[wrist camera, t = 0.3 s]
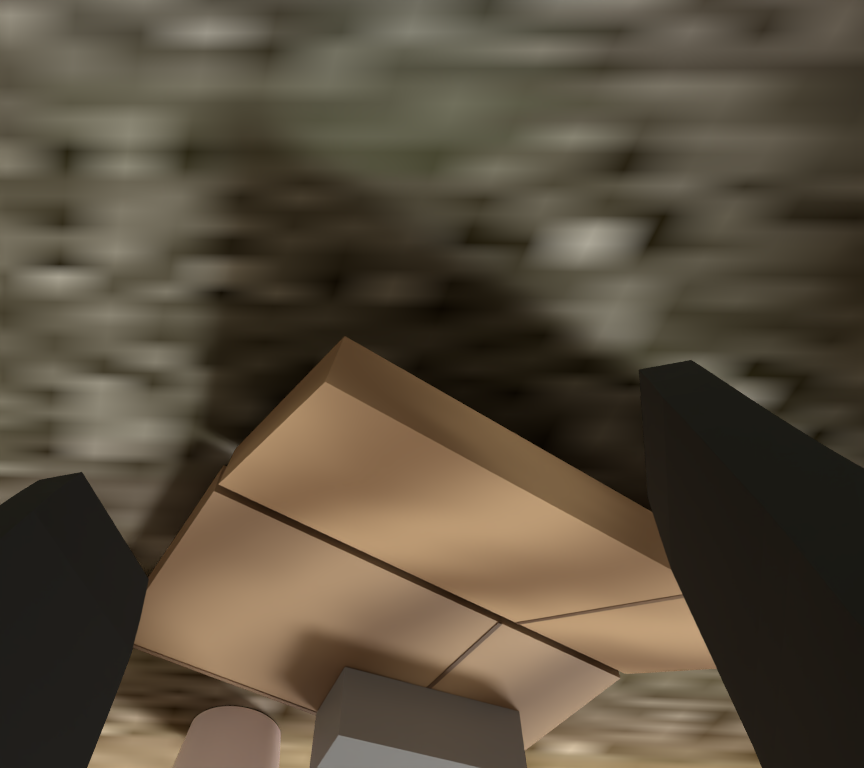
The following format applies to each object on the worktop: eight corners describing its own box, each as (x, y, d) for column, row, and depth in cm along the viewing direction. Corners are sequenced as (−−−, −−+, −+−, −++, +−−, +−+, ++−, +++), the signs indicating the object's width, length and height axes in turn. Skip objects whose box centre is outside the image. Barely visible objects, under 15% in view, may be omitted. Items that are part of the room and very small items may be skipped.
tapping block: (519, 711, 26) (528, 778, 24) (483, 752, 28) (489, 819, 26) (345, 666, 25) (338, 735, 22) (316, 712, 26) (308, 781, 24)
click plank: (235, 449, 21) (218, 484, 20) (344, 335, 14) (325, 382, 14) (629, 640, 26) (625, 674, 25) (836, 617, 19) (839, 662, 19)
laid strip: (612, 649, 26) (620, 679, 25) (485, 749, 30) (487, 779, 29) (223, 465, 21) (213, 492, 20) (125, 611, 25) (112, 640, 24)
